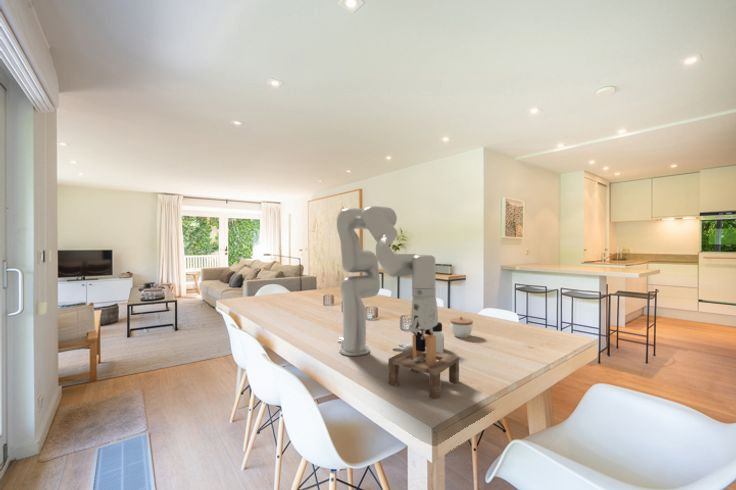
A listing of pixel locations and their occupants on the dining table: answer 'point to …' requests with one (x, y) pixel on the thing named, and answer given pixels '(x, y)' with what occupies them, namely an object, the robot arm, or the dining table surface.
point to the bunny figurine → (405, 348)
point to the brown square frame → (425, 368)
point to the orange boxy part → (430, 349)
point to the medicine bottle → (439, 338)
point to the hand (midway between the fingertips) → (424, 348)
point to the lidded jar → (461, 327)
